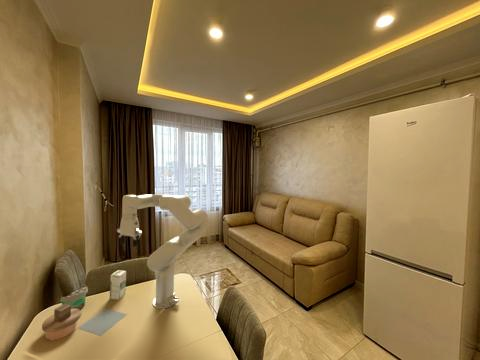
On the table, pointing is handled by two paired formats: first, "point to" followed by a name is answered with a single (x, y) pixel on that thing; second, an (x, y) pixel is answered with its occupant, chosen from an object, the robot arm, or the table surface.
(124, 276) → the syrup box
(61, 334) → the bowl
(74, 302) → the food container
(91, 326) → the mat
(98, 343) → the table surface
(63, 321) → the lid
